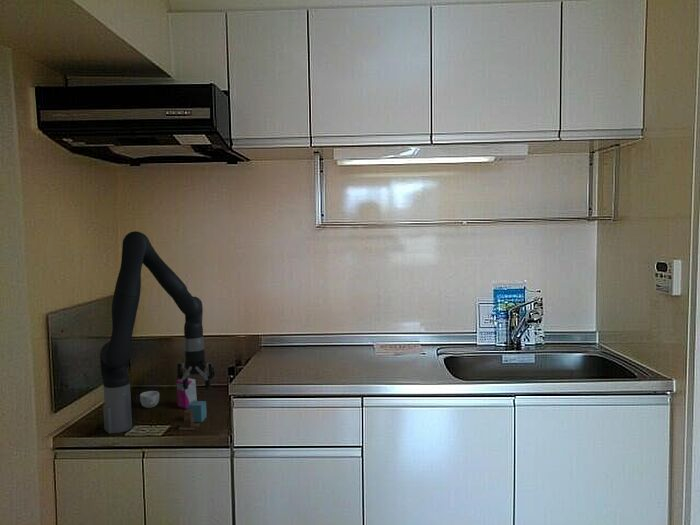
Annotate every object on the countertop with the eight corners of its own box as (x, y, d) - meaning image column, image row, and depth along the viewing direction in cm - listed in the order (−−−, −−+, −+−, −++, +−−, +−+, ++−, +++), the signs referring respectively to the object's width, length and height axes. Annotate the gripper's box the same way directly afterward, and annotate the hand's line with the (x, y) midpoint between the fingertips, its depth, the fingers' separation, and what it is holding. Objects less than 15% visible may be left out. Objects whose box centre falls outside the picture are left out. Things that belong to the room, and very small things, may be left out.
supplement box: (189, 403, 247) (187, 377, 246) (197, 406, 244) (196, 379, 243) (177, 407, 243) (176, 380, 242) (185, 409, 239) (184, 382, 238)
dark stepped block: (193, 430, 216) (192, 413, 215) (178, 430, 216) (177, 413, 216) (199, 424, 221) (199, 408, 221) (184, 424, 222) (184, 407, 222)
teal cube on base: (201, 422, 224) (200, 405, 224) (188, 421, 225) (188, 405, 224) (206, 417, 229) (205, 401, 229) (194, 417, 230) (193, 400, 230)
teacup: (138, 405, 246) (137, 393, 246) (156, 402, 250) (156, 389, 250) (144, 412, 238) (143, 399, 237) (163, 408, 242) (162, 395, 241)
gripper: (215, 346, 228) (217, 386, 229) (180, 346, 230) (183, 385, 231) (208, 350, 221) (210, 392, 222) (173, 350, 222) (175, 391, 224)
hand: (196, 388), depth 227 cm, fingers open, 8 cm apart
